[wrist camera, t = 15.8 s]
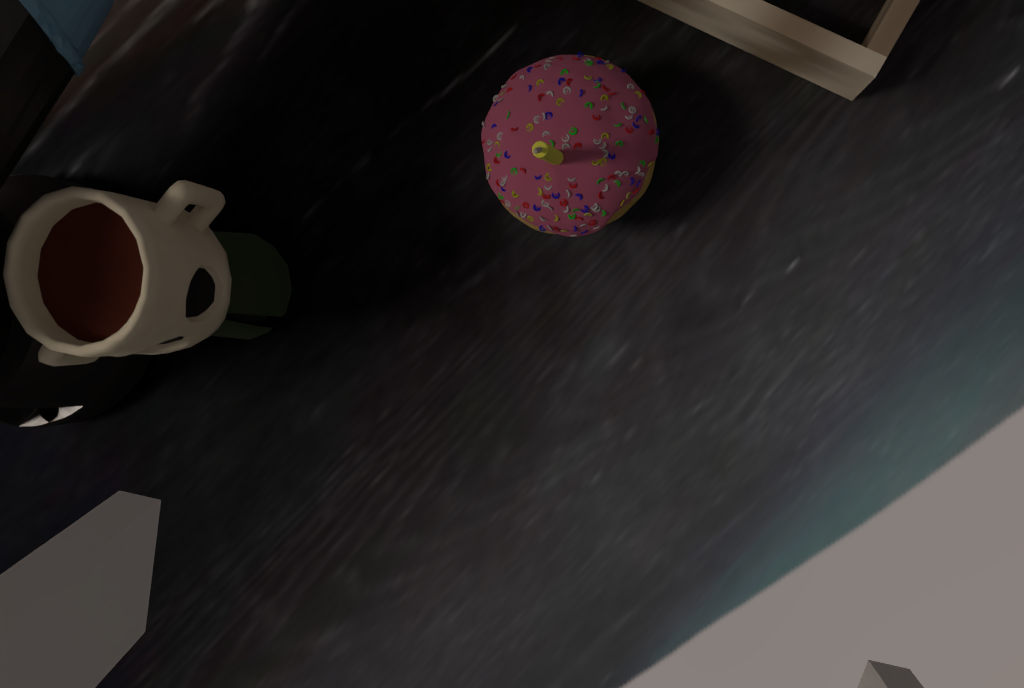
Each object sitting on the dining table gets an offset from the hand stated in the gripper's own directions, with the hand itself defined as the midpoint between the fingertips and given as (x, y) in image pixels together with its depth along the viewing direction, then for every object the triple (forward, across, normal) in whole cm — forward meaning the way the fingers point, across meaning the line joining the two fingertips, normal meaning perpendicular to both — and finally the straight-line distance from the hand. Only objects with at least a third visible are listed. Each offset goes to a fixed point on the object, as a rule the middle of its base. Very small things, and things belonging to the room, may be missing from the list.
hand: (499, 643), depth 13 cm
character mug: (+29, -17, -1) cm, 34 cm away
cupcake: (+28, 0, +10) cm, 30 cm away
